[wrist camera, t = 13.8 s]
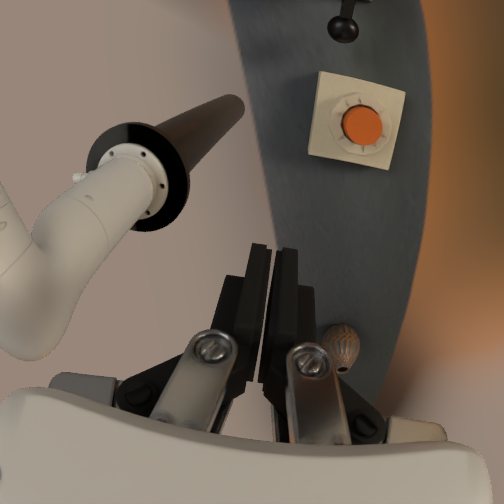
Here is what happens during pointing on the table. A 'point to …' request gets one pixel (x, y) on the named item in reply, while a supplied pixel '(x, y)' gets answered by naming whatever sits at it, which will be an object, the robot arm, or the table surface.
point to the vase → (342, 346)
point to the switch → (344, 24)
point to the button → (362, 125)
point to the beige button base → (335, 108)
